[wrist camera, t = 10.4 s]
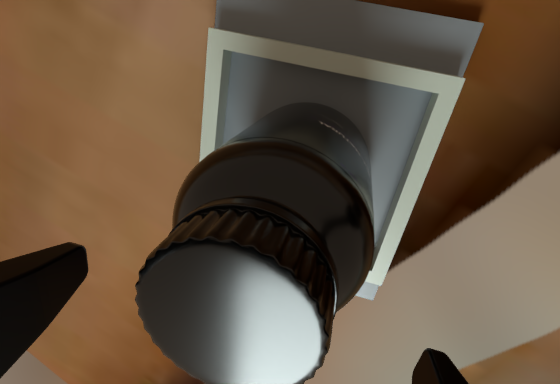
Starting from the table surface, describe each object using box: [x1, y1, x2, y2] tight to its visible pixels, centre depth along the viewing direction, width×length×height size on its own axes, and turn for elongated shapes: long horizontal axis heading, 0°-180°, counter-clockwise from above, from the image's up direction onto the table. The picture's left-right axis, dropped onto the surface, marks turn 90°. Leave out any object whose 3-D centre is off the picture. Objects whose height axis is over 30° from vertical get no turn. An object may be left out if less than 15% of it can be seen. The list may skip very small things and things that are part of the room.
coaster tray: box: [200, 0, 484, 300], centre depth 18 cm, size 12×16×2 cm
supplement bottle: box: [135, 102, 375, 384], centre depth 13 cm, size 7×7×12 cm
